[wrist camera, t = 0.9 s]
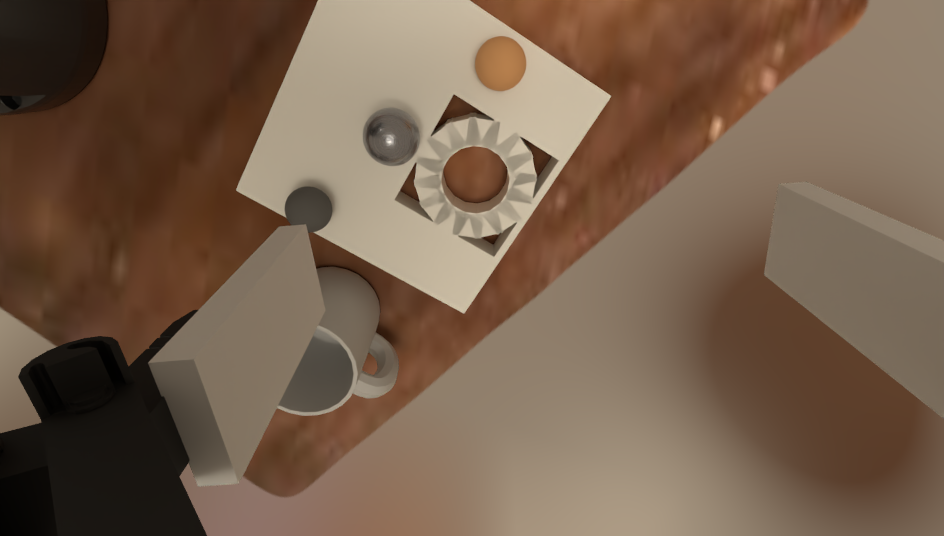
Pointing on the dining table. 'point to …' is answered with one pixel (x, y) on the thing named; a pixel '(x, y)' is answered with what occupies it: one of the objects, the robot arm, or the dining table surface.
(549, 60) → the board
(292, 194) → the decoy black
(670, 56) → the dining table surface
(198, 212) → the dining table surface
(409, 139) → the ball
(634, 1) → the dining table surface
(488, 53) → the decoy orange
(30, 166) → the dining table surface
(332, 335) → the cup
